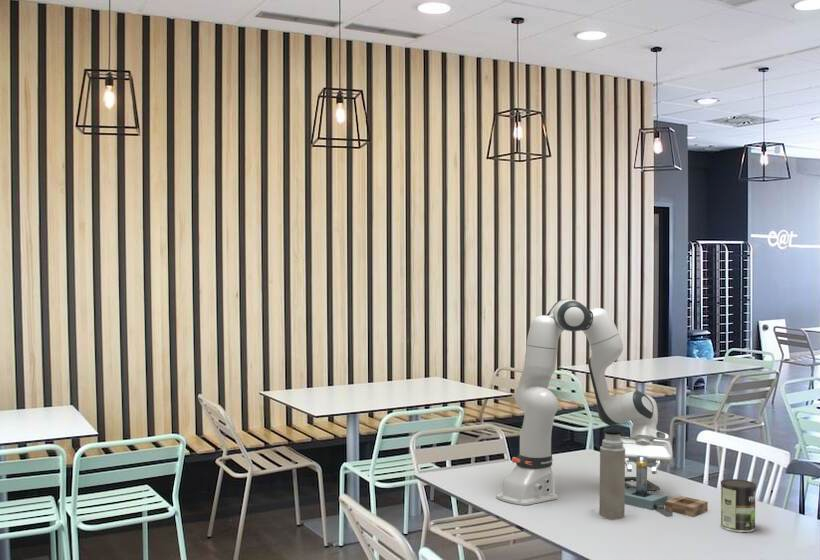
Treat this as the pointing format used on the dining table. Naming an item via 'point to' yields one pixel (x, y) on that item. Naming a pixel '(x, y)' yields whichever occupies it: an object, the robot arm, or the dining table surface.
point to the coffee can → (738, 505)
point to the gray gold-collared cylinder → (641, 476)
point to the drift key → (662, 510)
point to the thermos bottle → (612, 476)
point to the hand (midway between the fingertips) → (641, 471)
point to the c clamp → (649, 484)
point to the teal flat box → (644, 499)
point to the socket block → (686, 506)
